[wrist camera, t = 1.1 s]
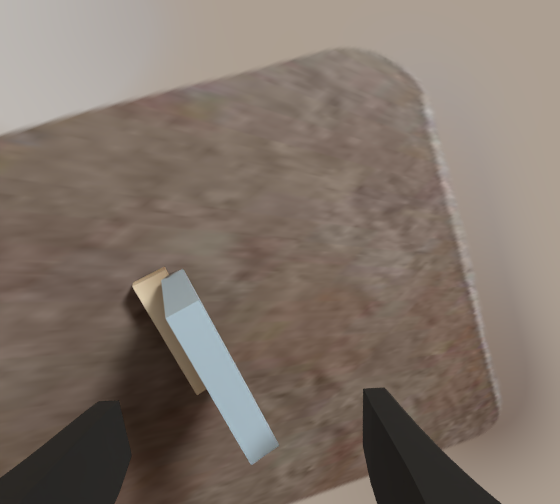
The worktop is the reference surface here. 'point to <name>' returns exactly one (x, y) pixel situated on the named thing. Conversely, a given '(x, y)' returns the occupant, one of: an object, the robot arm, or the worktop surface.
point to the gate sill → (165, 323)
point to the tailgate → (215, 366)
